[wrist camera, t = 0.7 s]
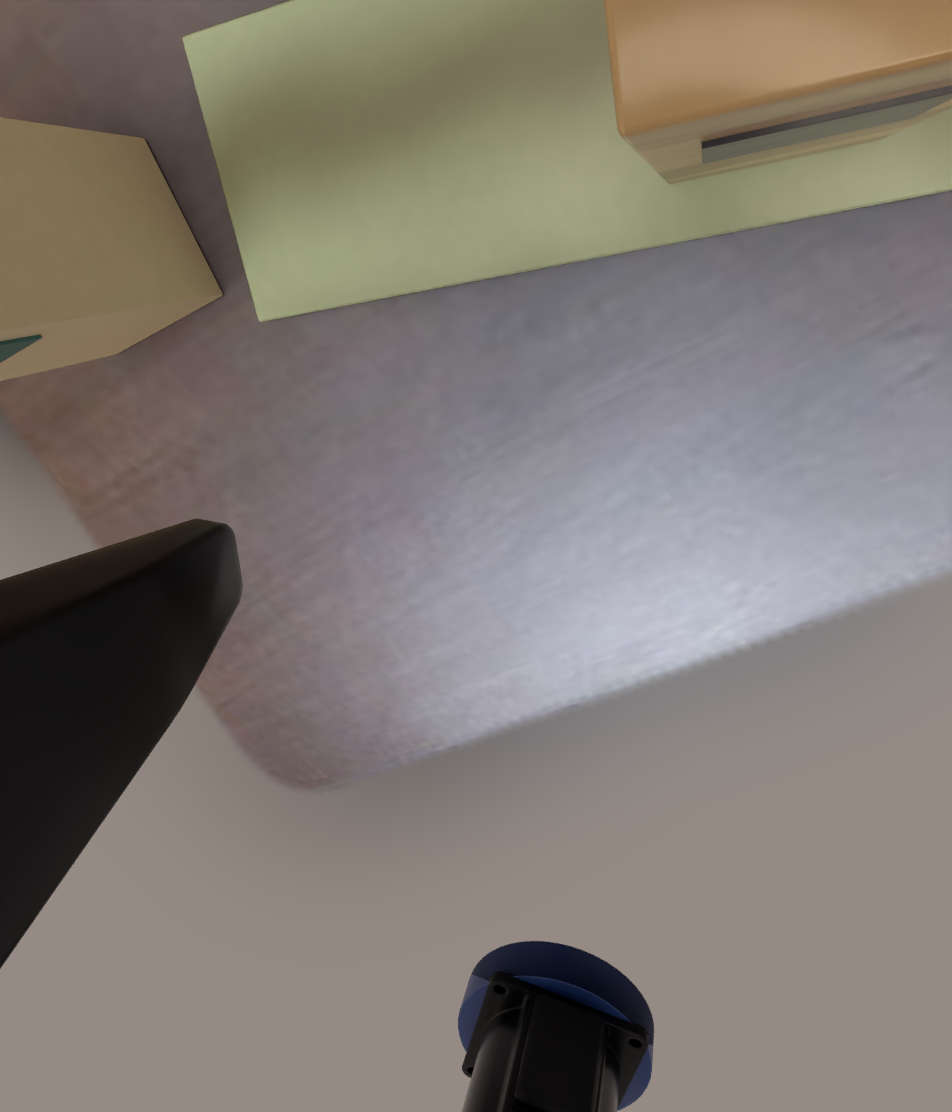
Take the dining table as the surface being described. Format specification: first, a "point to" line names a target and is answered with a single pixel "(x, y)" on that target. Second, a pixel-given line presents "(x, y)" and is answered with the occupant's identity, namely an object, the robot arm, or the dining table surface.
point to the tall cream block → (88, 248)
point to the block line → (554, 130)
